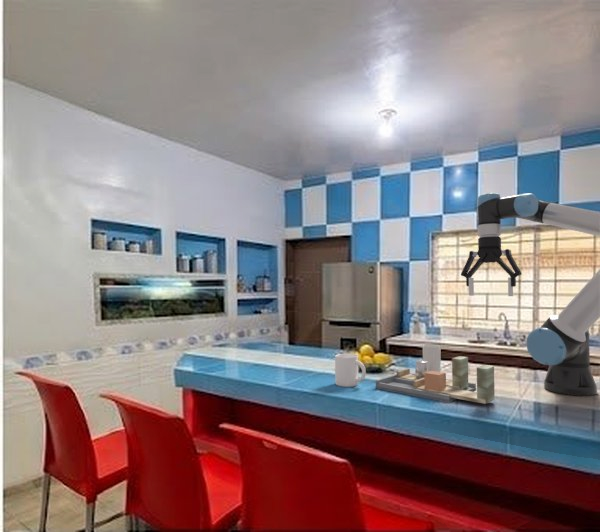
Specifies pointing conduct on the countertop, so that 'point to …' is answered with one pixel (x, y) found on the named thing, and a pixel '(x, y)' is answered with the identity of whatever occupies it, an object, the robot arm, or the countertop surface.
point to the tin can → (421, 368)
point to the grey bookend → (432, 357)
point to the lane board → (407, 388)
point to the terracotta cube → (435, 380)
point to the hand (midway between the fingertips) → (490, 295)
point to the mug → (348, 370)
